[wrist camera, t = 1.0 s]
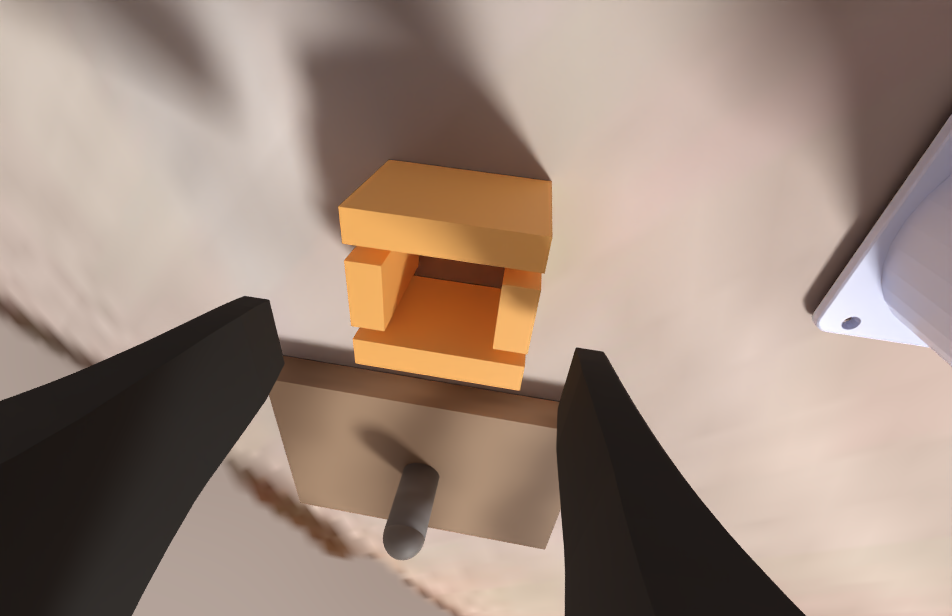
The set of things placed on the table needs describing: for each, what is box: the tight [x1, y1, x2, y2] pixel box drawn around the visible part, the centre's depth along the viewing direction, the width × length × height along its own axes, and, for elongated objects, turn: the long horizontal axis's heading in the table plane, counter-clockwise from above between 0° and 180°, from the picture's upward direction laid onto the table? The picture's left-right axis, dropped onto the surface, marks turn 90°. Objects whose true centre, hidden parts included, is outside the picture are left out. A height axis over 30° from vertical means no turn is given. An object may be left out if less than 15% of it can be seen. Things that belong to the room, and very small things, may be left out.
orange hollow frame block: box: [338, 160, 552, 391], centre depth 13 cm, size 5×5×4 cm
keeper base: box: [269, 356, 561, 560], centre depth 20 cm, size 14×10×5 cm
